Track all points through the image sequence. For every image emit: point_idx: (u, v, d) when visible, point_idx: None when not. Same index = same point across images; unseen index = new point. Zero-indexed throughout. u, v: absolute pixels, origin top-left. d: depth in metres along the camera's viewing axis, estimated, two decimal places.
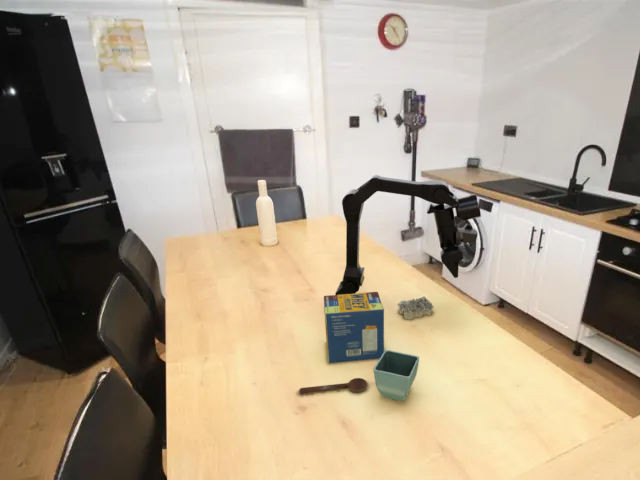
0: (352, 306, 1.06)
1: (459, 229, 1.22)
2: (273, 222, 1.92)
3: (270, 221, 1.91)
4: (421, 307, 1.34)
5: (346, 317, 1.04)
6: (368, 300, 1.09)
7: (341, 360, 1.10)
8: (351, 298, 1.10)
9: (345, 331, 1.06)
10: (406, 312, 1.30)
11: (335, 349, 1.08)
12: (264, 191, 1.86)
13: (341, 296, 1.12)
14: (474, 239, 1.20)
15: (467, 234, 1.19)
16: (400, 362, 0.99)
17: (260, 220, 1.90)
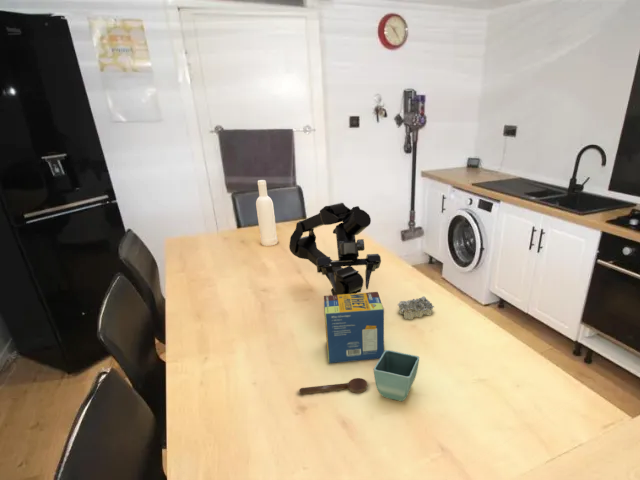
0: (352, 306, 1.06)
1: None
2: (273, 222, 1.92)
3: (270, 221, 1.91)
4: (421, 307, 1.34)
5: (346, 317, 1.04)
6: (368, 300, 1.09)
7: (341, 360, 1.10)
8: (351, 298, 1.10)
9: (345, 331, 1.06)
10: (406, 312, 1.30)
11: (335, 349, 1.08)
12: (264, 191, 1.86)
13: (341, 296, 1.12)
14: (341, 249, 1.15)
15: (340, 245, 1.17)
16: (400, 362, 0.99)
17: (260, 220, 1.90)
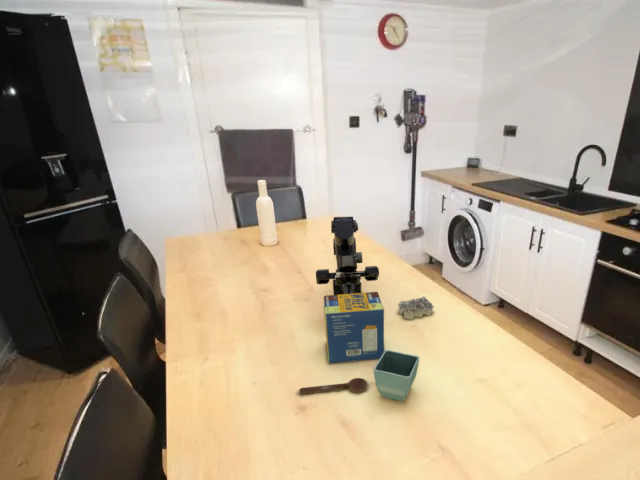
0: (352, 306, 1.06)
1: None
2: (273, 222, 1.92)
3: (270, 221, 1.91)
4: (421, 307, 1.34)
5: (346, 317, 1.04)
6: (368, 300, 1.09)
7: (341, 360, 1.10)
8: (351, 298, 1.10)
9: (345, 331, 1.06)
10: (406, 312, 1.30)
11: (335, 349, 1.08)
12: (264, 191, 1.86)
13: (341, 296, 1.12)
14: (339, 262, 1.16)
15: None
16: (400, 362, 0.99)
17: (260, 220, 1.90)
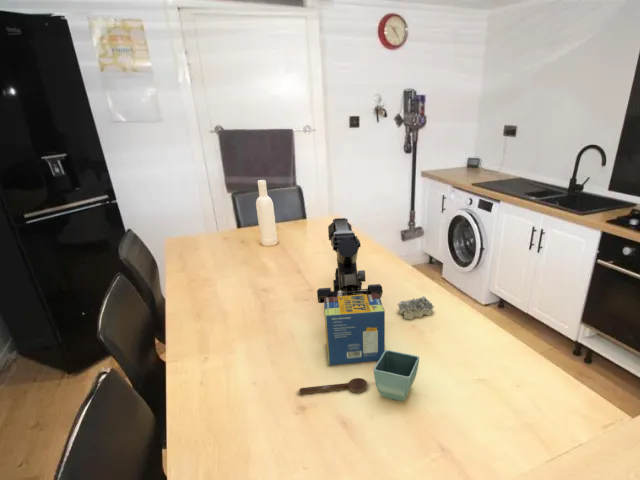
0: (353, 307, 1.05)
1: None
2: (273, 222, 1.92)
3: (270, 221, 1.91)
4: (421, 307, 1.34)
5: (346, 319, 1.03)
6: (368, 302, 1.08)
7: (342, 362, 1.09)
8: (351, 300, 1.09)
9: (345, 333, 1.05)
10: (406, 312, 1.30)
11: (335, 351, 1.07)
12: (264, 191, 1.86)
13: (341, 297, 1.11)
14: (341, 280, 1.12)
15: None
16: (400, 362, 0.99)
17: (260, 220, 1.90)
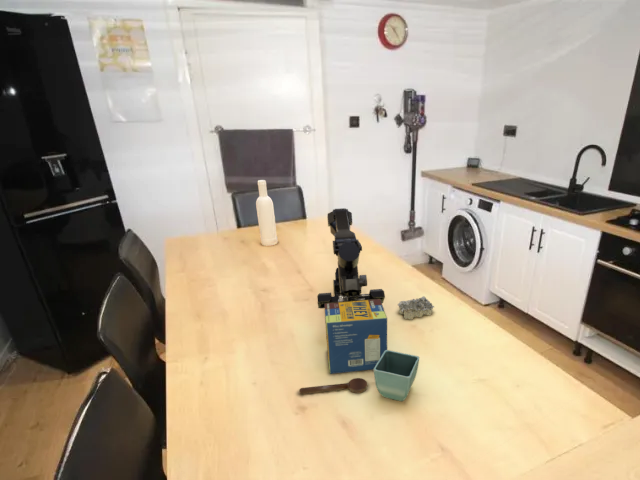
0: (354, 314, 1.02)
1: None
2: (273, 222, 1.92)
3: (270, 221, 1.91)
4: (421, 307, 1.34)
5: (348, 326, 1.00)
6: (370, 309, 1.05)
7: (343, 370, 1.06)
8: (353, 306, 1.06)
9: (347, 341, 1.02)
10: (406, 312, 1.30)
11: (336, 359, 1.04)
12: (264, 191, 1.86)
13: (342, 304, 1.07)
14: (342, 285, 1.09)
15: None
16: (400, 362, 0.99)
17: (260, 220, 1.90)
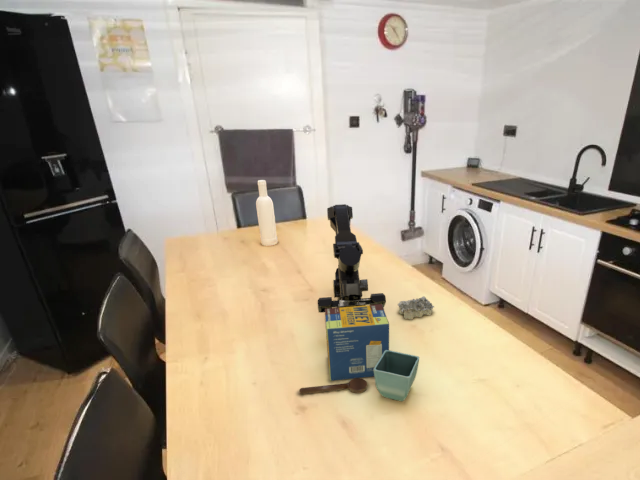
0: (356, 320, 1.00)
1: (352, 283, 1.13)
2: (273, 222, 1.92)
3: (270, 221, 1.91)
4: (421, 307, 1.34)
5: (349, 332, 0.98)
6: (372, 314, 1.02)
7: (344, 377, 1.03)
8: (354, 311, 1.04)
9: (348, 347, 0.99)
10: (406, 312, 1.30)
11: (337, 366, 1.01)
12: (264, 191, 1.86)
13: (343, 309, 1.05)
14: (343, 290, 1.08)
15: (342, 285, 1.10)
16: (400, 362, 0.99)
17: (260, 220, 1.90)
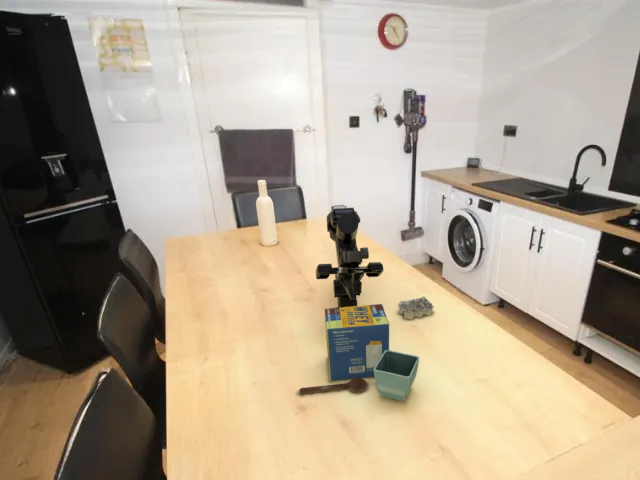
0: (356, 320, 1.00)
1: None
2: (273, 222, 1.92)
3: (270, 221, 1.91)
4: (421, 307, 1.34)
5: (349, 332, 0.98)
6: (372, 314, 1.02)
7: (344, 377, 1.03)
8: (354, 311, 1.04)
9: (348, 347, 0.99)
10: (406, 312, 1.30)
11: (337, 366, 1.01)
12: (264, 191, 1.86)
13: (343, 309, 1.05)
14: (345, 257, 1.10)
15: (343, 252, 1.12)
16: (400, 362, 0.99)
17: (260, 220, 1.90)
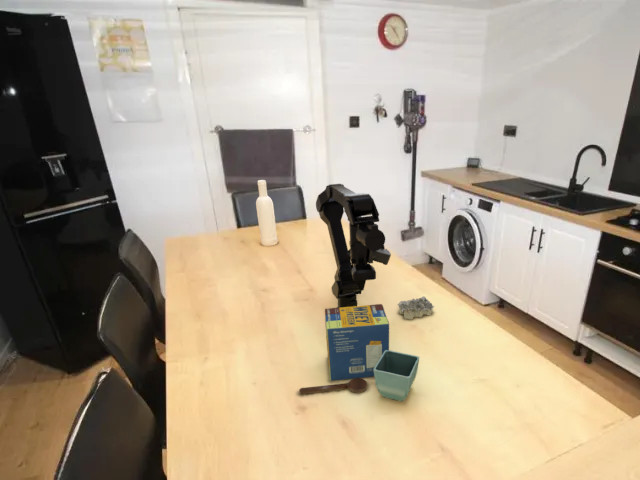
0: (356, 320, 1.00)
1: None
2: (273, 222, 1.92)
3: (270, 221, 1.91)
4: (421, 307, 1.34)
5: (349, 332, 0.98)
6: (371, 314, 1.02)
7: (344, 377, 1.03)
8: (354, 311, 1.04)
9: (348, 347, 0.99)
10: (406, 312, 1.30)
11: (337, 366, 1.01)
12: (264, 191, 1.86)
13: (343, 309, 1.05)
14: (387, 260, 1.16)
15: (381, 254, 1.14)
16: (400, 362, 0.99)
17: (260, 220, 1.90)
